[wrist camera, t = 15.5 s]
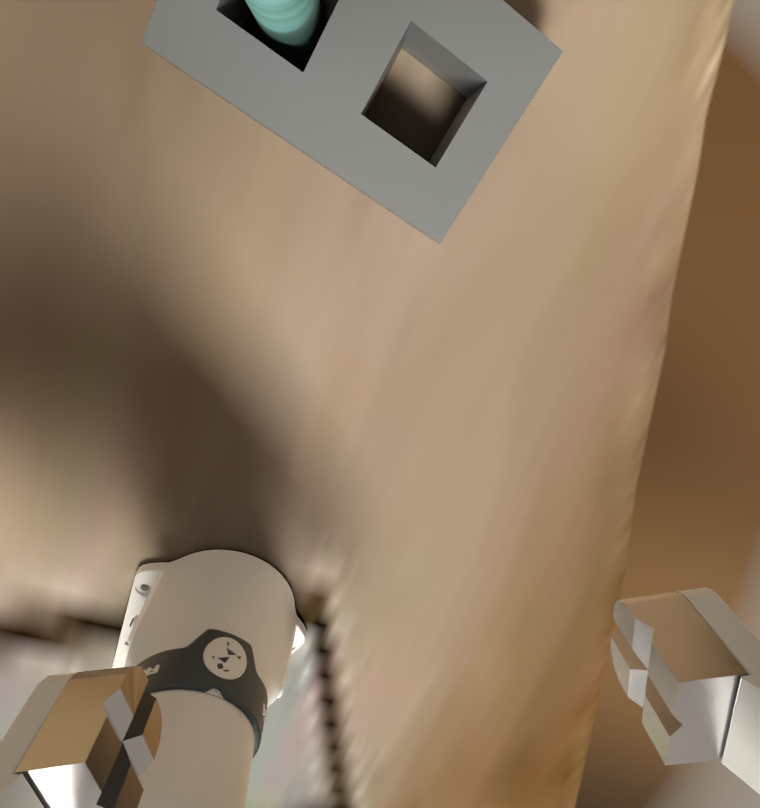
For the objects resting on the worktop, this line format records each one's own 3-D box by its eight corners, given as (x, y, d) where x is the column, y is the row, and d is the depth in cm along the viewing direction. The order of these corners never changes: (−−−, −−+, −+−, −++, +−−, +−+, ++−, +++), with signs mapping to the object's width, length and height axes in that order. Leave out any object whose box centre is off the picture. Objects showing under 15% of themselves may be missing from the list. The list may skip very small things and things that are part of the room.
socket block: (427, 236, 40) (439, 243, 34) (174, 66, 35) (141, 42, 29) (530, 72, 36) (562, 51, 30) (262, -147, 31) (242, -223, 25)
